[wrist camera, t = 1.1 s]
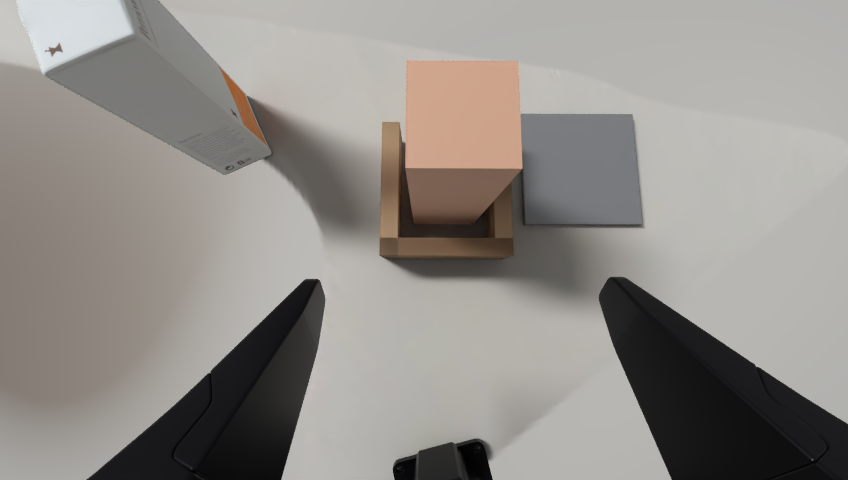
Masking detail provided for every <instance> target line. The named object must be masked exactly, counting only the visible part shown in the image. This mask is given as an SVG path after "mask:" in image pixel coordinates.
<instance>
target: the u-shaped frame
mask: <svg viewBox="0 0 848 480" xmlns="http://www.w3.org/2000/svg"><path fill="white" fill-rule="evenodd" d="M401 190H402V137H401V130H400V123H399V122H382V165H381V211H380V256H382V257H383V258H397V259H503V258H507V257H511V256H514V255H513V227H512V199H511V182H510V183H509V184H508V186H507V187H506V188H505V189H504V190H503V191H502V192H501V193H500V194H499V196H498V197H497V198H496V199H495V200H494V201H493V202H492V203H491V204H490V206H489V207H488V208H487V209H486V210H485V219H486V238H401Z"/></svg>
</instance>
